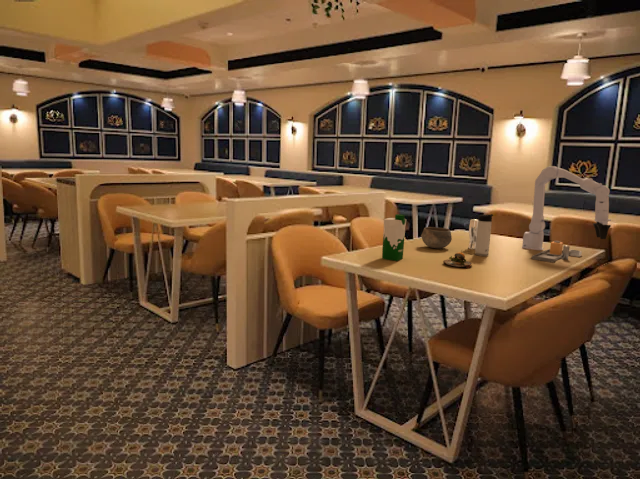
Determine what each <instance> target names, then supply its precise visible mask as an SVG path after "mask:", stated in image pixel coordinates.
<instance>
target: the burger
mask: <svg viewBox="0 0 640 479" xmlns="http://www.w3.org/2000/svg"><path fill="white" fill-rule="evenodd" d="M442 262H443V264H446V265H448V266H453V267H458V268H459V267H460V268H461V267H462V268H463V267H465V268H466V270H467V269H470V268H473V266H472V262H470V261H469V260H468V261H467V258H466V255H465V254H464V253H463V250H461V251H459V252H455V253H454V256H452V255H450V256H449V258H448V259H444V260H443V261H442Z"/></svg>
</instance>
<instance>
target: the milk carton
mask: <svg viewBox="0 0 640 479" xmlns="http://www.w3.org/2000/svg"><path fill="white" fill-rule="evenodd" d="M406 224H407V219H406V218H405V214H395V215H394V217H388V218H384V219H383V234H382V236H383V237H382V250H381V251H382V252H381V254H382V256H381V259H382V260H387V261H388V260H389V261H395V262H398V261H400V260H403V258H404V249H405V248H404V245H405V237H406V236H405V233H406Z"/></svg>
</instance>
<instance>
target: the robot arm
mask: <svg viewBox="0 0 640 479" xmlns="http://www.w3.org/2000/svg"><path fill="white" fill-rule="evenodd" d="M558 178H561V179H562V178H564V179H565V180H566V179H567V180H569V181H571V182H573V183H576V184H577V185H579V187H580V189H582V190H584V191H586V192H588V193H589V194H592V195H593V194H594V196H595V207H594V208H595V209H594V210H595V211H594V212H595V213H594V214H595V215H594V222H593V223H592V225H593V227H594V231H595V235H596V238H600V240H606V239H607V236H608V232H609V229H610V228H611V226H612V225H611V224H608V222H612V219H610V218H609V212H610V211H609V210H610V201H609V199H610V198H609V194H610V192H611V191H610V188H609V187H607V185H603V183H601V182H600V183H599V182H596V181H595V180H593V178H592V177H586V178H585V177H584V178H582V177H580V176H578V175H576V174H574V173H573V172H570V171H569V170H567V169H564V168H561V167H558V166H555V165H549V166H546V167H545V168H543V169H542V170H541V172H540V173H539V174H538V175H537V178H536V179H535V181H534V194H533V206H532V207H533V209H532V216H531V219H530V220H531V221H530V223H529V225H528V229H529V231H525V232H524V233H523V237H522V244H521V245H522V246H521V249H528V250H535V251H542V250H543V251H544V250H545V247H544V248H543V244H544V235H545V234H544V233H545V232H544V230H545V228H546V222H545V216H544V208H545V193H546V184H548V183H549V182H550V181H552V180H554V179H558Z"/></svg>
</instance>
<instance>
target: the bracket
mask: <svg viewBox="0 0 640 479" xmlns="http://www.w3.org/2000/svg"><path fill="white" fill-rule="evenodd" d="M582 253H583V251H582V250H579V249H578V250H577V249H572V248H571V249H569V256H571V257H577V258H580V257H581V256H582ZM569 256H568V257H569Z"/></svg>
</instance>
